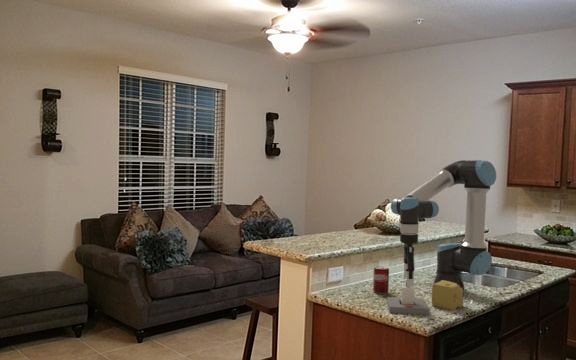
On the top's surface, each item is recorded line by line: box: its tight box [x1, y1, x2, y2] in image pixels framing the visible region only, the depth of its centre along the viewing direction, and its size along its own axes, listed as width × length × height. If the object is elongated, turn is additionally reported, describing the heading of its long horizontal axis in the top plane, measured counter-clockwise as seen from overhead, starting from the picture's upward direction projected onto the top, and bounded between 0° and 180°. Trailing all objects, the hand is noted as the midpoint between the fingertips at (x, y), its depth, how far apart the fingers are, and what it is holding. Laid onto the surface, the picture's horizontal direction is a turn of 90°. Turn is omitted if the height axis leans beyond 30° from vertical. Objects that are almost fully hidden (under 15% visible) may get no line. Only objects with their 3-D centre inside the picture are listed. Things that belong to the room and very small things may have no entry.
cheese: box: [431, 280, 464, 311], centre depth 226 cm, size 10×11×10 cm
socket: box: [386, 296, 430, 316], centre depth 221 cm, size 16×16×3 cm
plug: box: [400, 281, 415, 305], centre depth 220 cm, size 5×5×11 cm
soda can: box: [372, 265, 390, 295], centre depth 248 cm, size 7×7×12 cm
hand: (408, 282), depth 221 cm, fingers open, 13 cm apart
